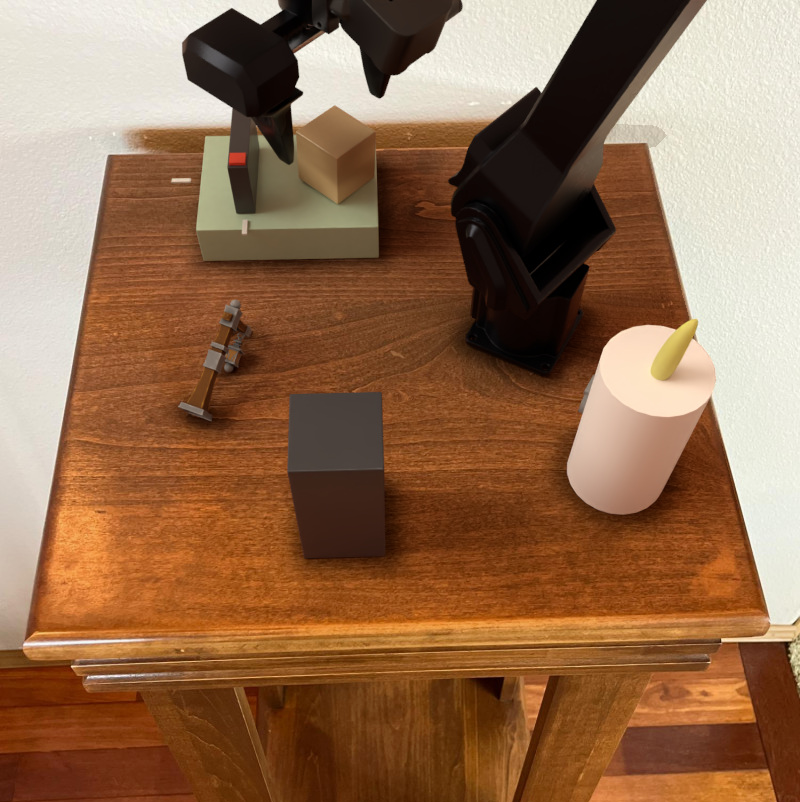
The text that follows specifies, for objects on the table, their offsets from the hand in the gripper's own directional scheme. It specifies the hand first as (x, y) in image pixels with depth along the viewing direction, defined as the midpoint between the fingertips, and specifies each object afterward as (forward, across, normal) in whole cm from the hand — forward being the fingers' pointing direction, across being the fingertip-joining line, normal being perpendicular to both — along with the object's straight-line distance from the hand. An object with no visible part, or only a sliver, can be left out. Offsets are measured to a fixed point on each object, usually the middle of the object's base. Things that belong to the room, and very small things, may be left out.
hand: (332, 127), depth 63 cm
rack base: (+7, -3, +3) cm, 9 cm away
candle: (+8, -6, -30) cm, 31 cm away
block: (+4, 0, 0) cm, 4 cm away
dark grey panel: (+4, -4, +5) cm, 8 cm away
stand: (+7, -20, -19) cm, 28 cm away
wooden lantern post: (+8, -17, -5) cm, 20 cm away
